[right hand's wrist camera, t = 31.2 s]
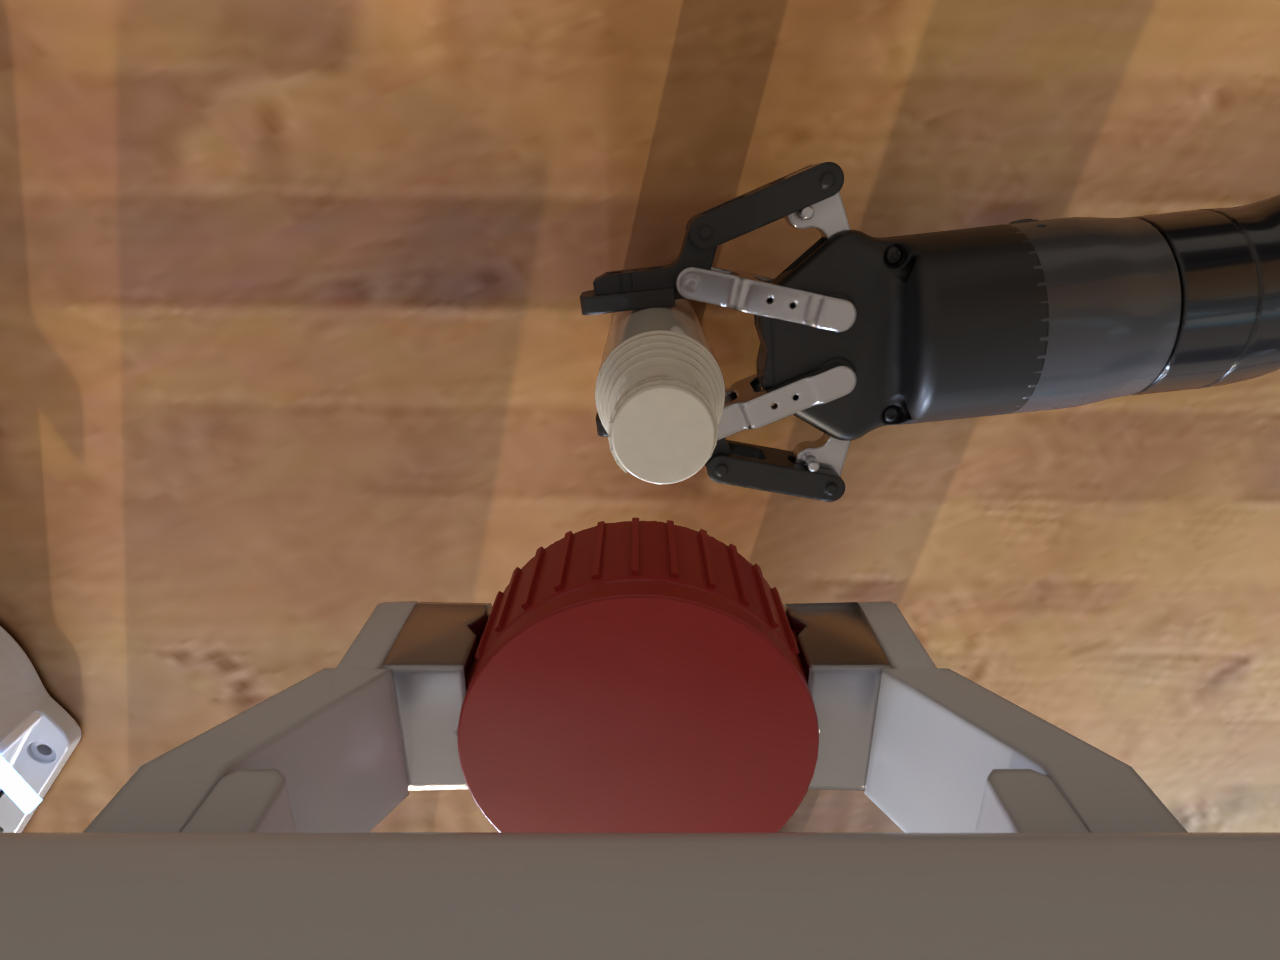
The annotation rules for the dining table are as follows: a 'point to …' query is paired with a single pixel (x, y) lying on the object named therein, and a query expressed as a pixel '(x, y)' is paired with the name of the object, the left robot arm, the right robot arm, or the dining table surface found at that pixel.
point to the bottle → (660, 393)
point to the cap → (638, 691)
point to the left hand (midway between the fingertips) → (592, 364)
